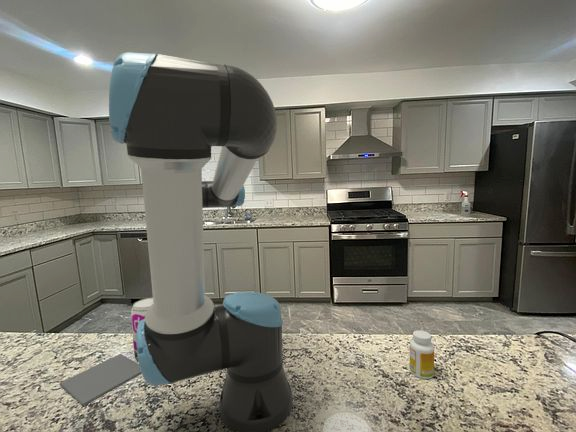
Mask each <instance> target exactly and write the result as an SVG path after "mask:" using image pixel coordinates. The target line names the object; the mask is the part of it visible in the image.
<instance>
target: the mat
mask: <svg viewBox="0 0 576 432" xmlns="http://www.w3.org/2000/svg"><path fill="white" fill-rule="evenodd" d="M140 375H142V373H141V370H140V366H139V363H138V362H135V361H134V360H133V359H131V358H129V357H127V356H125V355H124V354H122V353H119V354H118V355H115V356H114V357H110V358H109V359H107V360H105V361H102V362H100V363H98V364H96V365H94V366H91V367H90V368H88V369H85V370H83V371H81V372H79V373H77V374H75V375H73V376H71V377H69V378H67V379H64V380H62V381H60V382H59V386H60V387H61V388H62V389H64V390H65V391H66V392H67V393H68V394H69V395H70V396H71V397H72V398H73V399H75V400H76V401H77V403H79V405H81V406H82V407H84V406H86V405H88V404H90V403H91V402H93V401H95V400H97V399H99V398H101V397H102V396H104V395H106V394H107V393H108V394H109V392H111V391H113V390H114V389H116V388H118V387H120V386H121V385H123V384H125V383H127V382H129V381H131V380H133V379H134V378H136V377H138V376H140Z"/></svg>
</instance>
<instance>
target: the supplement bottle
mask: <svg viewBox="0 0 576 432" xmlns="http://www.w3.org/2000/svg"><path fill="white" fill-rule="evenodd" d="M409 371H410V374H412V375H413V376H414V377H416V378H419V379H423V380H429V379H432V378H433V377H434V375H435V345H434V344H433V343H432V335H431V333H429V332H428V331H425V330H414V331H413V333H412V339H410V341H409Z"/></svg>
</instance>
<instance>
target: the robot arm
mask: <svg viewBox="0 0 576 432" xmlns="http://www.w3.org/2000/svg"><path fill="white" fill-rule="evenodd" d="M108 93H109V94H108V117H109V118H108V119H109V120H108V121H109V124H110V133H111V137H112V139H113V140H114V141H115V142H117V143H119V144H122V145H124V144H126V153H127V157H128V159H130V160H131V161H132V162H133V163H134V164H136V165H137V166H138V167H139V168H140V171H141V182H142V193H143V205H144V216H145V226H146V237H147V247H148V260H149V270H150V271H149V272H150V279H151V280H150V282H151V292H152V298H153V304H152V305H151V306H150V307H149V308H148V310H147V312H146V314H145V319H143V320H141V321H140V322H139V324H138V326H137V333H136V345H137V350H138V359H137V361H138V364H139V366H140V370H141V376H142V378H143V380H144V381H145V382H146V383H147V384H148V385H149V386H152V387H157V386H158V387H159V386H163V385H168V384H169V385H173V384H176V383H177V382H182V381H185V380H189V379H192V378H196V377H200V376H203V375H207V374H208V375H209V374H211V373H216V372H219V371H223V370H226V373H225V378H224V382H223V384H222V391H221V393H220V397H219V414H220V415H219V416H220V418H221V421H222V422H223V424H224V425H226V427H227V428H229V430H231V431H234V432H269V431H271V430H273V429H276V428H277V427H278V426H279V425H281V424H282V423H283V422H284V421H285V420H286V419H287V418H288V416H289V415H290V413H291V410H292V408H293V407H292V406H293V392H292V386H291V385H290V382H289V381H288V378H287V375H286V372H285V369H284V365H283V364H284V363H283V362H284V361H283V357H284V355H283V327H282V326H283V318H282V312H281V311H282V309H281V305H280V303H279V302H278V300H277V299H275V298H274V297H272V296H270V295H269V294H265V293H262V292H257V291H256V292H255V291H239V292H232V293H231V294H227V296H225V297H224V299H223V302H222V305H219V306H218V305H217V306H214V302H213V301H212V299H211V298H210V297H208V296H207V295H206V287H205V286H206V284H205V283H206V281H205V252H204V251H205V245H204V244H205V242H204V213H203V212H204V209H206V208H207V209H208V208H209V209H210V208H211V209H212V208H213V209H214V208H235V207H242V206H243V205H244V204H245V199H246V191H245V190H246V189H245V186H244V185H245V183H246V182H247V180H248V178H249V175H250V173H251V172H252V170H253V168H254V166H255V164H256V163H257V161H258V159H261V158H262V157H264V156H265V155H266V154H267V153H268V152H269V150H270V149H271V147H272V146H273V143H274V141H275V138H276V135H277V129H278V118H277V113H276V108H275V105H274V102H273V100H272V98H271V96H270V95H269V93H268V91H267V90H266V88H265V87H264V86H263V84H262V83H261V82H260V81H259V80H258V79H257V78H255V76H253V75H252V74H250V73H249V72H248V71H246V70H244V69H241V68H239V67H238V66H237V67H236V66H233V65H230V64H217V63H212V62H205V61H201V60H195V59H189V58H184V57H178V56H172V55H165V54H161V53H157V52H154V53H145V52H143V53H142V52H141V53H140V52H132V51H130V52H128V51H126V52H122V53H120V54H119V55H118V56H117V57H116V59H115V60H114V62H113V65H112V68H111V75H110V80H109V90H108ZM212 147H221V149H220V153H219V157H218V162H217V164H216V169H215V172H214V175H213V179H212V180H203V179H202V178H203V176H202V175H203V174H202V170H203V168H204V167H205V166H206V165H207V164H208V163H209V162H210V161H211V160H212Z"/></svg>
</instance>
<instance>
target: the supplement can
mask: <svg viewBox="0 0 576 432" xmlns="http://www.w3.org/2000/svg"><path fill="white" fill-rule="evenodd" d="M152 304H153V297H148V298H147V297H146V298H143V299H139V300H138V301H135V302H134V303H133V305H132V308H131V309H130V317H131V327H132V328H131V329H132V342H133V353H134V354H133V355H134V356H133V357H134V358H135V359H137V360H138V350H137V345H136V333H137V326H138V324H139V322H140V321H141V320H143V319H145V314H146V312H147V310H148V308H149V307H150V306H151V305H152Z"/></svg>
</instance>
